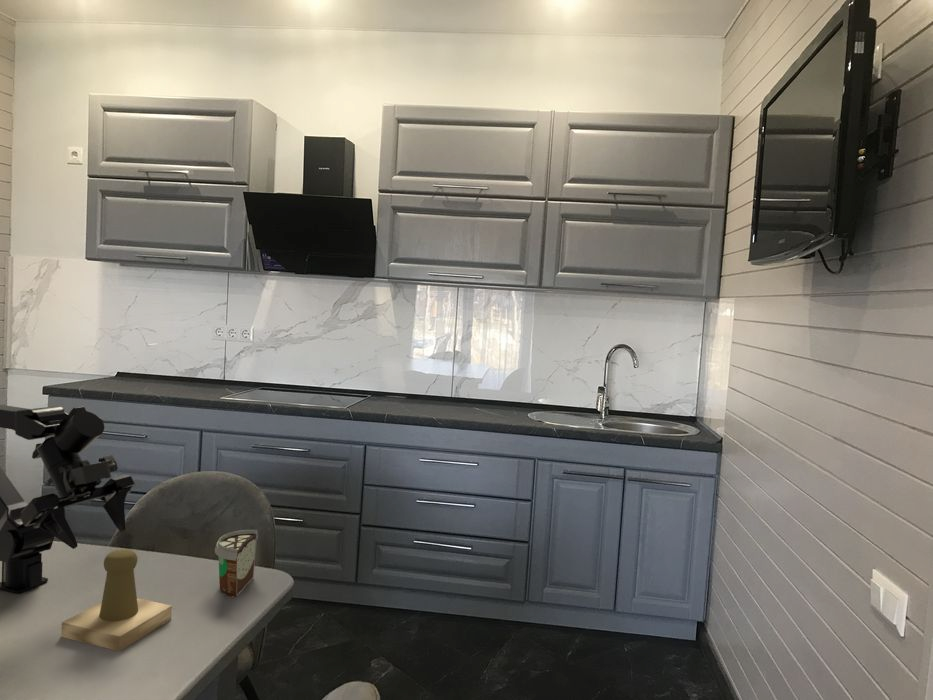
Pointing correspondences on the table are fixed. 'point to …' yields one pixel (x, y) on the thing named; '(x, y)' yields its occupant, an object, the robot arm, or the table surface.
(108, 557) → the cork
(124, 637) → the oak board
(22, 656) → the table surface
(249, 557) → the food container
